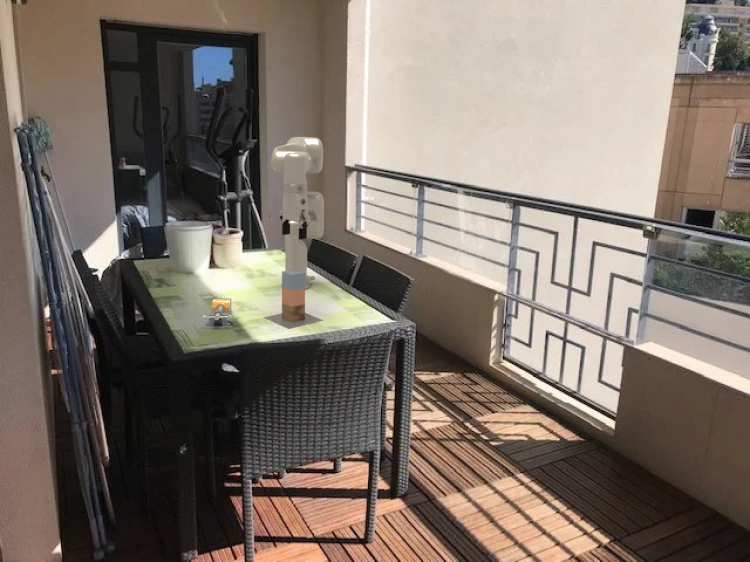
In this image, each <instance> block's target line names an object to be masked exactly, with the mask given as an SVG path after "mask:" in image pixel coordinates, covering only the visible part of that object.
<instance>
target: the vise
mask: <svg viewBox="0 0 750 562" xmlns="http://www.w3.org/2000/svg"><path fill="white" fill-rule="evenodd" d="M211 303H212V306H211V311H210V312H209V314H208V316H207V315H205V314H203V315H202V316H201V318H202V320H206V319H208V320H207V321H205V322H204V323H205V326H206V327H215V324H216V322H217V321H218V320H220V319H221V320H220V321H221V322H222V327H230V326H233V322H232V321H230V320H232V319H233V316H232V314H231V313H233V310H232V298H229V297H228V298H226V297H225V298H223V297H219V298H218V297H214V298H213V300H212V302H211Z"/></svg>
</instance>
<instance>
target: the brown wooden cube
mask: <svg viewBox="0 0 750 562" xmlns="http://www.w3.org/2000/svg"><path fill="white" fill-rule="evenodd" d="M281 313H282V319H285V320H287V321H289V322H296V321H300V320H304V319H305V313H306V303H305V304H303V305H298V306H294V307H291V306H288V305H286V304H283V303H282V302H281Z"/></svg>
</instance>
